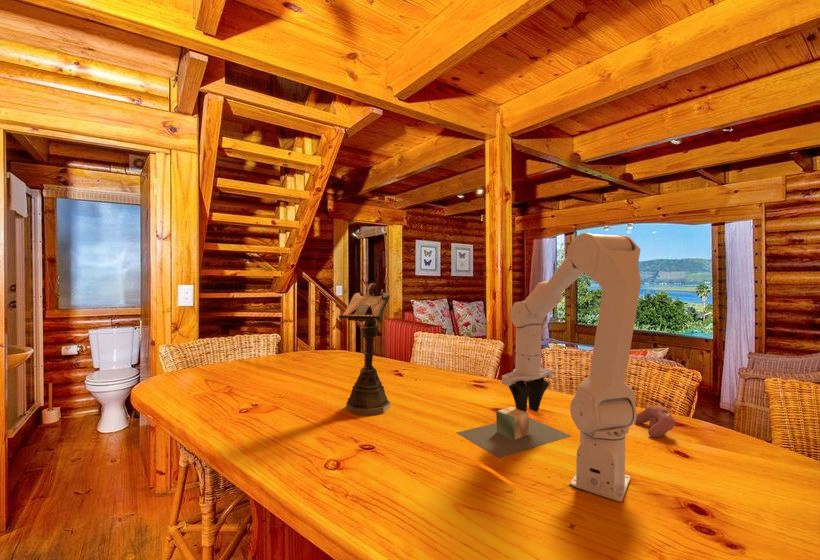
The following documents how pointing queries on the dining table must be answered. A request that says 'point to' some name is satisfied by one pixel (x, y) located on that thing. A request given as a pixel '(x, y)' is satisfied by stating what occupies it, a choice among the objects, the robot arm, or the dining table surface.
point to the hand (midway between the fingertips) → (527, 411)
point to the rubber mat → (505, 446)
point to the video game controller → (656, 420)
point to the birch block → (512, 423)
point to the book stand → (367, 354)
